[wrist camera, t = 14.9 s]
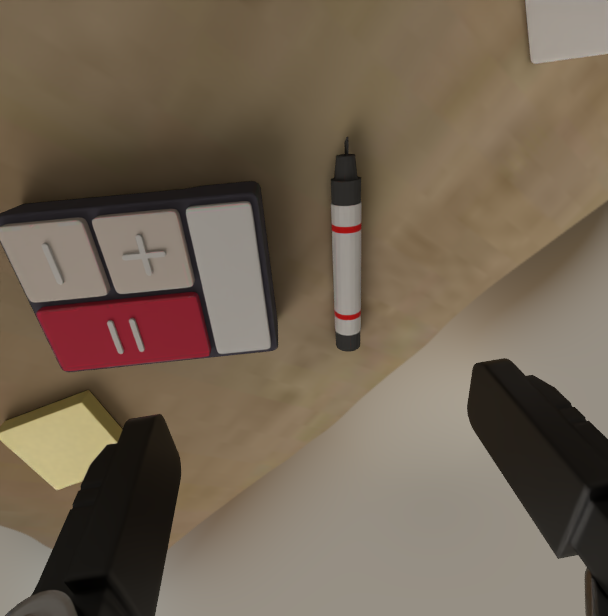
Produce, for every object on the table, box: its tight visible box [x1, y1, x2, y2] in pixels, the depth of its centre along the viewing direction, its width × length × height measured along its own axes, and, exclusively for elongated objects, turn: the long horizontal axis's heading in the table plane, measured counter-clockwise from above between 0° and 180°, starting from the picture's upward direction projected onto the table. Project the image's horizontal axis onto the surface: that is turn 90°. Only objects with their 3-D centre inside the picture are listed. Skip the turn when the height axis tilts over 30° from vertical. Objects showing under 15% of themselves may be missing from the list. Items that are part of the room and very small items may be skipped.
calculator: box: [0, 181, 278, 372], centre depth 25 cm, size 11×4×15 cm
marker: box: [331, 137, 361, 351], centre depth 27 cm, size 15×2×2 cm, turn 4°
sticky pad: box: [0, 390, 123, 490], centre depth 32 cm, size 8×8×2 cm
